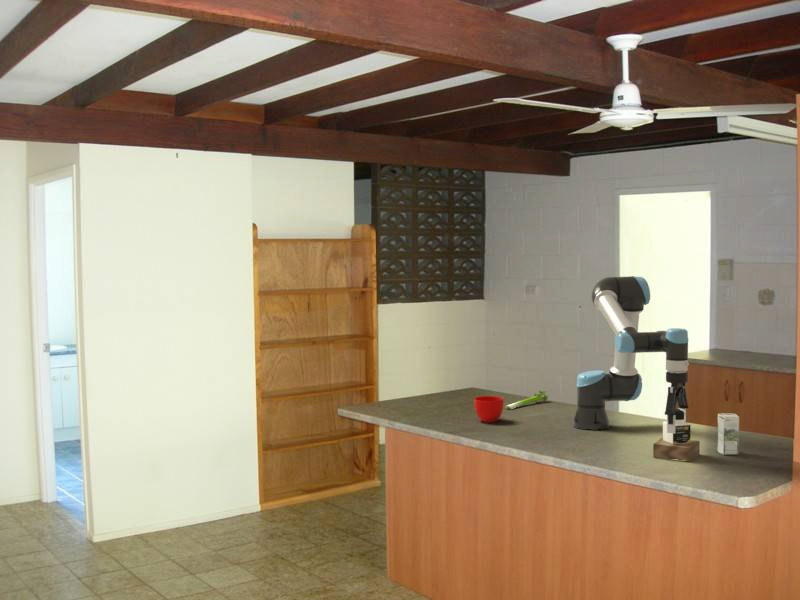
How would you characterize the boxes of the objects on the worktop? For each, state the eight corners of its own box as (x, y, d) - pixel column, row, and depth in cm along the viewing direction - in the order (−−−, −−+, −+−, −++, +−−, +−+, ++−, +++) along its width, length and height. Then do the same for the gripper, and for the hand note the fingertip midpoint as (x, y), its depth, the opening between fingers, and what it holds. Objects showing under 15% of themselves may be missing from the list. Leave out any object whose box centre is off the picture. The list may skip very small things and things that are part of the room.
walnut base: (653, 457, 308) (653, 443, 307) (663, 450, 319) (663, 436, 318) (689, 462, 301) (690, 448, 300) (699, 454, 311) (699, 440, 311)
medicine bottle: (673, 444, 305) (673, 411, 305) (662, 440, 312) (662, 408, 312) (690, 443, 307) (690, 410, 306) (679, 439, 314) (679, 407, 313)
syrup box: (732, 451, 315) (732, 412, 314) (739, 455, 309) (739, 415, 308) (716, 451, 315) (717, 412, 314) (723, 455, 309) (723, 416, 308)
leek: (502, 413, 405) (539, 399, 425) (513, 417, 400) (551, 402, 421) (502, 400, 403) (540, 387, 424) (514, 404, 399) (552, 391, 419)
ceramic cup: (503, 416, 386) (503, 394, 386) (504, 424, 370) (503, 401, 369) (474, 416, 388) (474, 394, 387) (474, 424, 371) (473, 401, 370)
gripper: (677, 376, 295) (677, 437, 297) (696, 367, 316) (696, 424, 317) (656, 375, 299) (655, 434, 301) (676, 366, 320) (675, 422, 321)
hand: (676, 429), depth 309 cm, fingers open, 13 cm apart
